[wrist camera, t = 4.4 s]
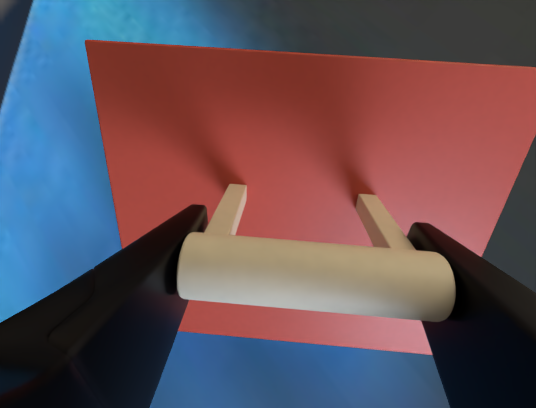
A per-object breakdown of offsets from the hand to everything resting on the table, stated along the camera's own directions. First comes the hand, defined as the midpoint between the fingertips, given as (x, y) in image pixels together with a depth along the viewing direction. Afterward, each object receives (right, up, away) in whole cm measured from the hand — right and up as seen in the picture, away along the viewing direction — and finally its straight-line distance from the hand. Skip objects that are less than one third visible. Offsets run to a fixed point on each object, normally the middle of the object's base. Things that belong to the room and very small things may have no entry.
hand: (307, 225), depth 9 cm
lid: (0, 0, +4) cm, 4 cm away
